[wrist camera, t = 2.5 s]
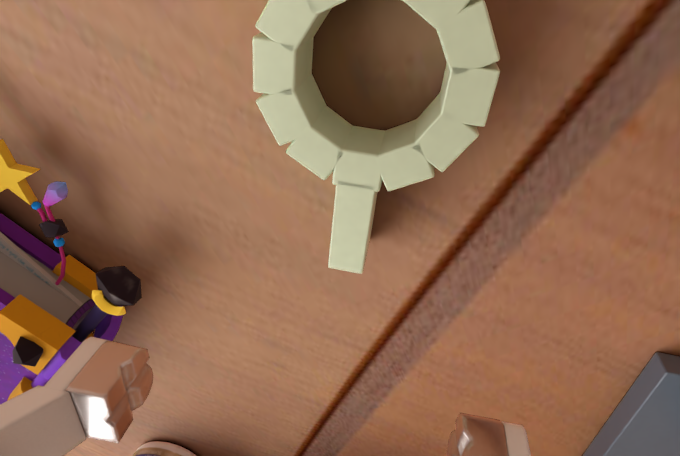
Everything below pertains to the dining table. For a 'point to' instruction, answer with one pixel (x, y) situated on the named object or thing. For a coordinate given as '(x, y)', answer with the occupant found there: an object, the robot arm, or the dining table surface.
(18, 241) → the purple yellow toy
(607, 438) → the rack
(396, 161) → the tabbed ring on plate
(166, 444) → the pill bottle
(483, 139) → the dining table surface
